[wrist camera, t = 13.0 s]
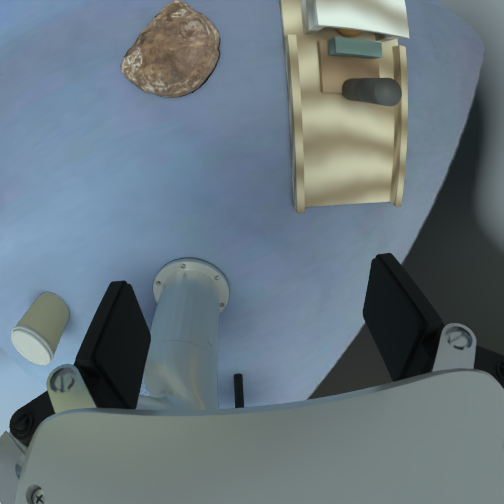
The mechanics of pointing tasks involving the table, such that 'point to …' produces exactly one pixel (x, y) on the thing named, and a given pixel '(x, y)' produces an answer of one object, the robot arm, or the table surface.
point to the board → (344, 106)
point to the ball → (349, 32)
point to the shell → (173, 52)
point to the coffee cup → (41, 328)
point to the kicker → (355, 71)
